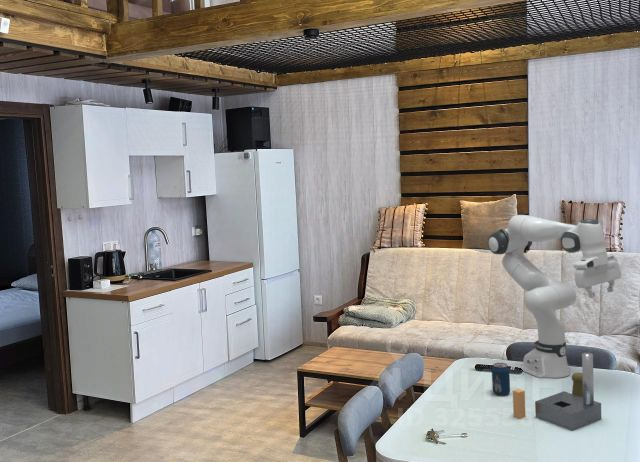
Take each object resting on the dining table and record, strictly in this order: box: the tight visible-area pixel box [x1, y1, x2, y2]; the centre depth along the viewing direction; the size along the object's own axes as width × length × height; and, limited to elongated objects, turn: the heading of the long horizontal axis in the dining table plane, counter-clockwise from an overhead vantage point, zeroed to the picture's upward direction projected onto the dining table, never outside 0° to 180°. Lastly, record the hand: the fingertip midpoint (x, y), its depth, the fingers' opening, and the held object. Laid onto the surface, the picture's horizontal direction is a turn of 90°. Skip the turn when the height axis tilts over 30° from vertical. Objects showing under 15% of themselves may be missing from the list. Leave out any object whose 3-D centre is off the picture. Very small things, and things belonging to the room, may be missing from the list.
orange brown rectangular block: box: [512, 388, 527, 420], centre depth 241 cm, size 3×3×10 cm
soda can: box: [491, 362, 511, 397], centre depth 265 cm, size 7×7×12 cm
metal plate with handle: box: [534, 352, 602, 432], centre depth 236 cm, size 16×16×24 cm
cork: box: [571, 372, 583, 397], centre depth 252 cm, size 6×6×11 cm
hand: (601, 294), depth 257 cm, fingers open, 8 cm apart
